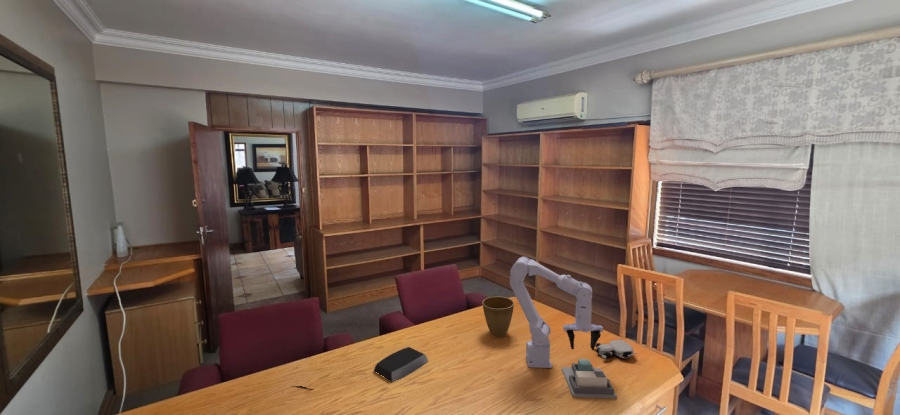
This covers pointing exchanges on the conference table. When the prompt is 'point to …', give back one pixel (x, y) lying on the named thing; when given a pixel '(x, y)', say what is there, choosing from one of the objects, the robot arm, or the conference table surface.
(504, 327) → the plant pot
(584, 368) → the teal block
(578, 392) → the jig
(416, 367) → the external hard drive
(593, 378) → the beige rectangular block
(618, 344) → the robot toy
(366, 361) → the conference table surface
